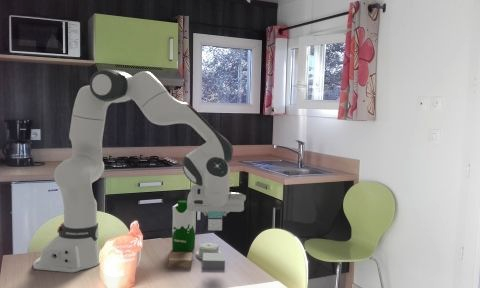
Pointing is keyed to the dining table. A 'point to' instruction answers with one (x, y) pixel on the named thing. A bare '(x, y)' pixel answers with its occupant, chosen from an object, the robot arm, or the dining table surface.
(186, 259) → the walnut stand
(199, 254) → the mechanical component
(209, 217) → the block
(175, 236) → the milk carton
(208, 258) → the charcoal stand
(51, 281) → the dining table surface
